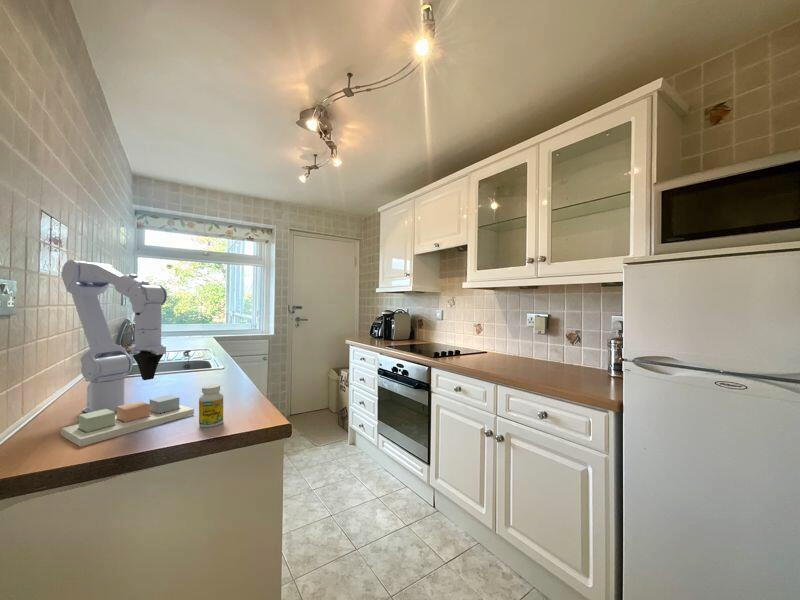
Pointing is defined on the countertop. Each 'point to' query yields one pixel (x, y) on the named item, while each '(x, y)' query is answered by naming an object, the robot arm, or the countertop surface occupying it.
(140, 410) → the terracotta button
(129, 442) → the countertop surface
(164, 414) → the panel
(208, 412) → the supplement bottle
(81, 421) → the sage button
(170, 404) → the slate button
